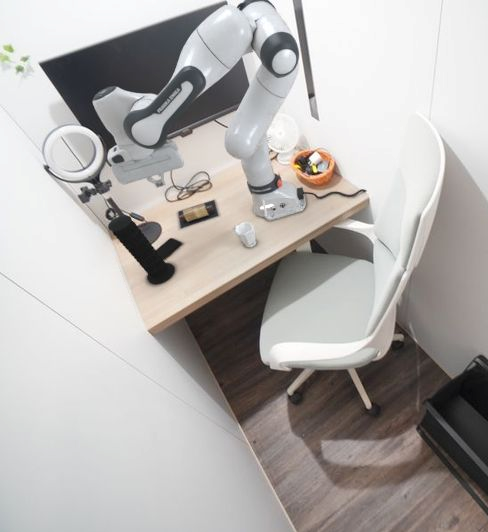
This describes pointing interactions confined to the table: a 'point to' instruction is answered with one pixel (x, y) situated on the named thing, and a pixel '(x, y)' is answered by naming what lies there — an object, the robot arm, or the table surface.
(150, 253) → the handle grip
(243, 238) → the cup
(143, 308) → the table surface
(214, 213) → the mat
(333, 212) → the table surface
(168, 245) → the smartphone
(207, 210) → the rolling pin
